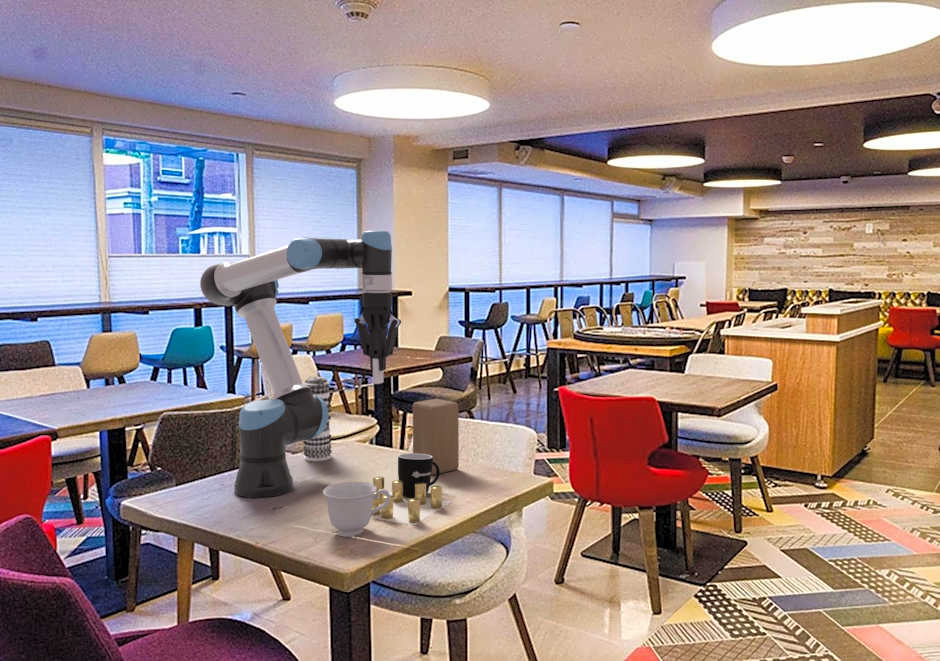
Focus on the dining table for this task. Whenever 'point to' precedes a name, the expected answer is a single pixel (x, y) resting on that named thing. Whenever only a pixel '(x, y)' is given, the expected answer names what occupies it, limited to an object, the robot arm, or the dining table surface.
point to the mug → (415, 471)
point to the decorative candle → (320, 444)
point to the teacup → (352, 505)
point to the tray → (402, 511)
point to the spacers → (398, 497)
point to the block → (437, 432)
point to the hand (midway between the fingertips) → (378, 382)
